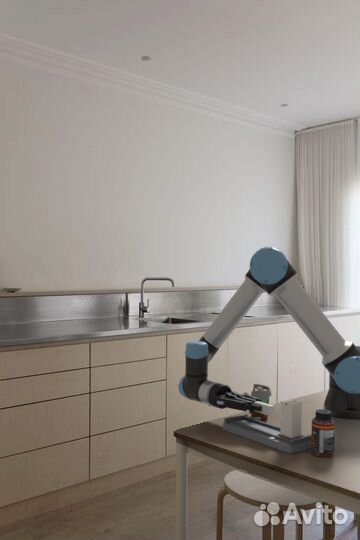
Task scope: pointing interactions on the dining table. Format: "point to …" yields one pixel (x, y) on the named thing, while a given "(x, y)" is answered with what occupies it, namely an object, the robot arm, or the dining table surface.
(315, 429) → the supplement bottle
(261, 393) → the food container
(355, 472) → the dining table surface
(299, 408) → the fader tab
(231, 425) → the board
